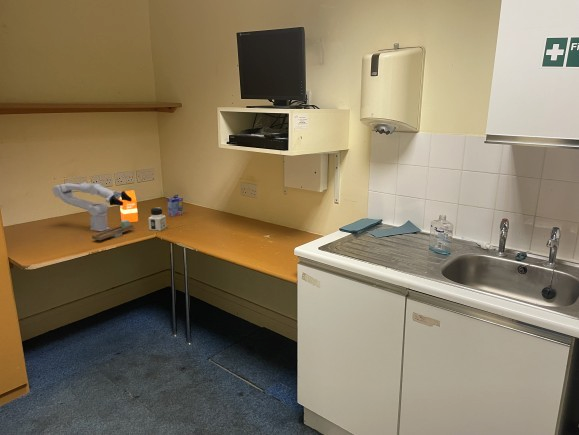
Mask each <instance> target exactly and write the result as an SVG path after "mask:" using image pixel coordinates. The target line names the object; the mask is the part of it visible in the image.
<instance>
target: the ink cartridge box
mask: <svg viewBox="0 0 579 435" xmlns="http://www.w3.org/2000/svg"><path fill="white" fill-rule="evenodd" d="M183 198H184V197H182V196H179V194H175V195H173V197H169V198H167V199H166V201H167V202H166V203H167V217H173V218H175V217H177V216H181V214H182V215H184V199H183Z"/></svg>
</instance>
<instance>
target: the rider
mask: <svg viewBox="0 0 579 435" xmlns="http://www.w3.org/2000/svg"><path fill="white" fill-rule="evenodd" d="M130 225H131V224H130V222H129V220H123V221H122V220H121V221H120V226H121V228H125V227H128V226H130Z"/></svg>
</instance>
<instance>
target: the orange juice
mask: <svg viewBox="0 0 579 435" xmlns="http://www.w3.org/2000/svg"><path fill="white" fill-rule="evenodd" d="M124 191H125V192H126V194H127V195H128V196H129V197H131V198H132V201H131V202H130V201H126V200H122V198H121V197H120V198H119V200H120V201H122V202H123V206H120V205H119V206H120V207H119V208H120V219H121V221H123V220H129V223H132V222H133V223H134V222H138V221H139V217H138V216H139V214H138V207H137V205H138V204H137V198H136V193H135V190H134V189H133V190H124Z"/></svg>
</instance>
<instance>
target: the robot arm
mask: <svg viewBox="0 0 579 435" xmlns="http://www.w3.org/2000/svg"><path fill="white" fill-rule="evenodd" d="M73 191H80V192H81V193H83V194H91V195H92V196H94V195H97V196H99V197H101V198H104V199H105V202H93V201H89V200H86V199H82V198H79V197H78V196H77V197H76V196H74V192H73ZM125 191H126V190H123V191H117V190H111V189H109V188H107V187H104V186H102V184H101V183H98V182H96V183H93V182H90V183H87V182H86V181H83V182H82V183H80V184H79V183H78V184H77V183H71V182H65V183H62V184H56V185H53V187H52V192H53V195H54V196H55V197H56V198H59V200H61V201H62V202H64V203H65V204H67V205H71V206H74V207H76V208H79V209H83V210H85V211H87V212H88V214H90V219H89V222H90V223H89V224H90V228H89V230H90V231H95V232H104V231H107V230H110V229H112V228H111V226H110V227H109V226H108V217H107V215H108V212H109V206H123V202H122V201H120V197H121V198H122V200H126V201H130V202H131V201H132V198H131V197H129V196H128V195H127V194H126V192H125ZM108 204H109V206H108Z"/></svg>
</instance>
